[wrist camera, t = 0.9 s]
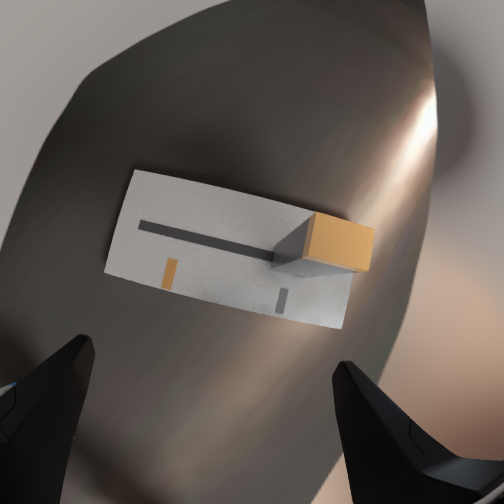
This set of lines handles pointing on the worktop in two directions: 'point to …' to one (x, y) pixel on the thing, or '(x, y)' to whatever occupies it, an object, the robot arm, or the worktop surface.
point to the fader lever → (324, 248)
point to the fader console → (218, 249)
